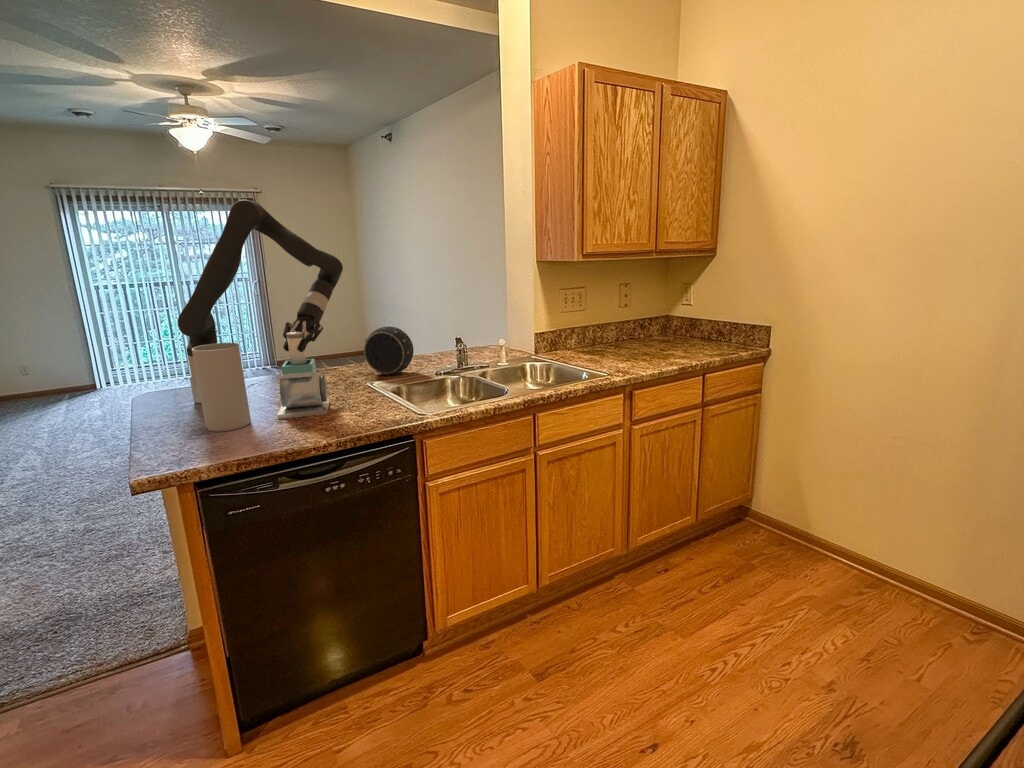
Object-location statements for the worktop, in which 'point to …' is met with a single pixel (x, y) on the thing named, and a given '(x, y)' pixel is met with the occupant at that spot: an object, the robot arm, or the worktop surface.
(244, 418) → the cylinder vase
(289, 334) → the jar with metallic lid
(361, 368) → the worktop surface
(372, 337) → the black wheel
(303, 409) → the motor
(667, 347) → the worktop surface
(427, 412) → the worktop surface
